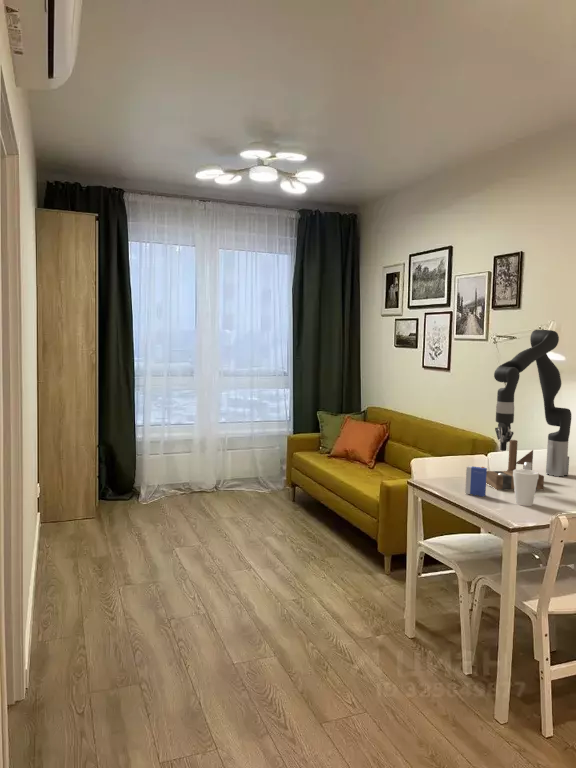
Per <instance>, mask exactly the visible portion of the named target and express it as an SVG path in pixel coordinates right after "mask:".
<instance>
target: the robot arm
mask: <svg viewBox="0 0 576 768" xmlns="http://www.w3.org/2000/svg"><path fill="white" fill-rule="evenodd" d="M529 337H530V338H529V340H530V348H527V349H524V350H522V351H520V352H518V353H517V354H516V355H515V356H514V357H513V358H512V359H511V360H508V361H506V362H504V363H502V364H500V365H499V366H498V367H496V368H495V370H494V373H493V375H494V376H493V377H494V380H495V381H497V382H498V383H506V384H505V387H501V388H498V390H497V395H496V396H497V398H496V401H497V402H496V405H495V422H496V423H498V424H497V427H495V428H494V429H495V430H494V431H495V433H496V437H497V440H498V441H499V442H500V444H499V445H500V447H499V450H500V451H502V452H506V451H507V446H508V445H507V443H510V440H512V437H513V436H514V433H515V432H514V431H512V430H511V428H512V427H511V424H514V422H515V420H514V419H515V392H516V389H517V386H518V383H519V380H520V377H521V376H520V373H522V372H524V371H525V370H526V369H527V368H528V367H530V365H531V364H533V363H534V362H536V363H535V364H536V367H537V368H536V369H537V372H538V373H537V374H538V377H539V378H538V379H539V385H540V389H541V393H542V398H543V399H542V400H543V407H544V408H543V409H544V418H545V422H546V423H547V425H549V426H553V427H558V428H559V429H558V430H557V431H555V432H551V433H550V432H549V433H548V435H547V448H546V451H547V452H546V465H545V474H546V473H547V474H549V475H548V476H551V475H554V476H553V477H559V476H563V477H565V476H564V475H568V476H569V472H570V471H569V467H570V456H568V455H569V453H568V452H569V439H570V433H571V425H572V411H571V410H570V408H566V407H556V406H555V398H556V397H557V395H558V393H559V391H560V389H561V387H562V379H561V372H560V371H559V369H558V367H557V366H556V365H555V364H554V362H553V361H552V360H551V359H550V357H549V356H548V353H550V352H552V351H553V350H554V349H555V348H556V347H557V346H558V344H559V341H560V337H559V334H558V332H557V331H555V330H551V329H534V330H533V331H532V332H531V333H530V336H529ZM547 474H546V475H547Z"/></svg>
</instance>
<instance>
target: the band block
mask: <svg viewBox="0 0 576 768" xmlns="http://www.w3.org/2000/svg"><path fill="white" fill-rule="evenodd" d="M498 473H505V474H506V475H500V474H498ZM544 481H545V476H544V475H543V474H540V473H539V478H538V481H537V486H536V489H543V490H544V487H545V486H544V485H545V484H544ZM486 483H487V484H489V485H491V486H492V487H494V488H495V489H514V478H513V471H507V470H487V475H486ZM492 487H491V488H492ZM494 488H493V489H494ZM495 489H494V490H495Z"/></svg>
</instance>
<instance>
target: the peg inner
mask: <svg viewBox="0 0 576 768" xmlns="http://www.w3.org/2000/svg"><path fill="white" fill-rule="evenodd" d="M524 469H525V470H532V471H533V463H531V462H524Z"/></svg>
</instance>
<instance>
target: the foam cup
mask: <svg viewBox="0 0 576 768" xmlns="http://www.w3.org/2000/svg"><path fill="white" fill-rule="evenodd" d="M539 474H540V473H539V472H538V471H535V470H533V469H532V470H525V469H523V468H516V470H513V478H514V490H513V491H514V500H515V504H516V505H519V506H523V507H531V506H533V504H534V500H535V495H536V491H537V490H536V486H537V481H538V478H539Z"/></svg>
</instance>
